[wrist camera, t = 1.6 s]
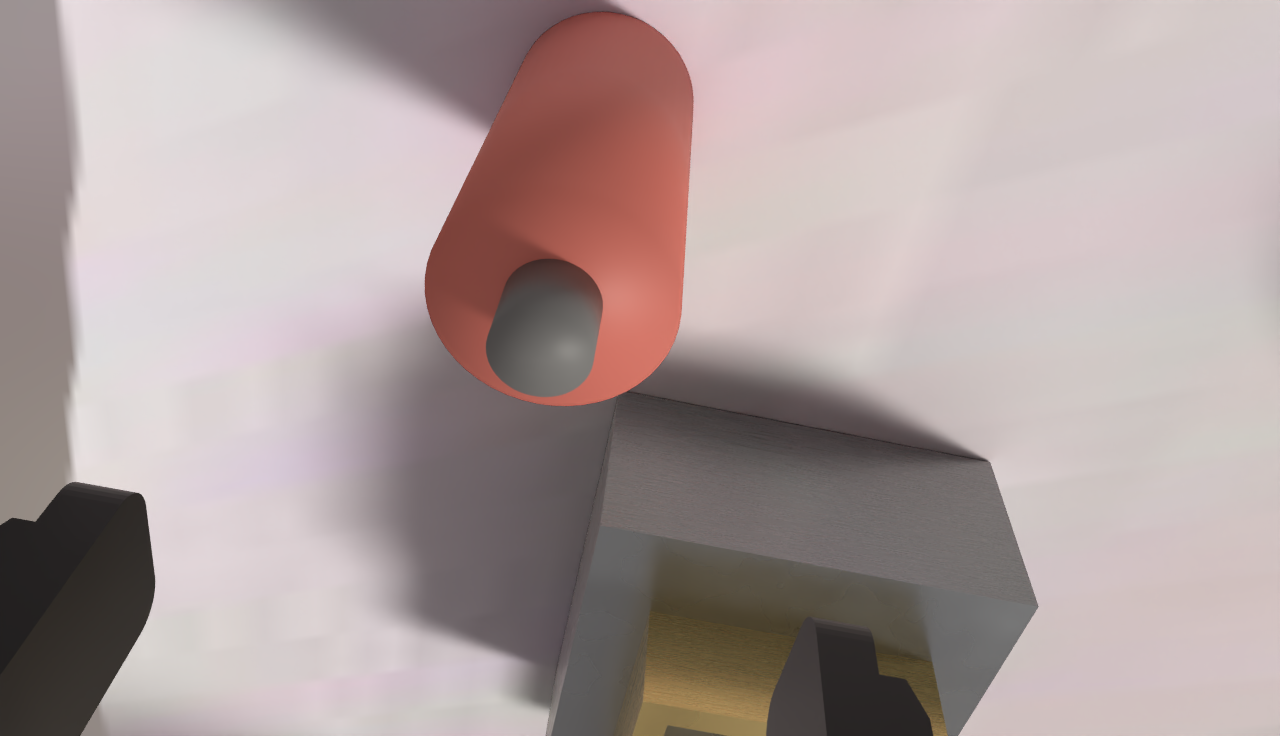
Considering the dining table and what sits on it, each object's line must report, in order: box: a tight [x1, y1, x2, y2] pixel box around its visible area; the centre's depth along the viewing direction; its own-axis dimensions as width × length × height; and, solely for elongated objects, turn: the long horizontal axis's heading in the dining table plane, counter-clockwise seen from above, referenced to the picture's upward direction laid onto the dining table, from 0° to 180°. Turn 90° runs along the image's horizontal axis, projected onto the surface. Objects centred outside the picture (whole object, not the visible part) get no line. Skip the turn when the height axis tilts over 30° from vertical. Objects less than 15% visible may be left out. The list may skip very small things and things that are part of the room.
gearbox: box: [546, 392, 1038, 736], centre depth 33 cm, size 17×12×9 cm
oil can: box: [425, 12, 693, 406], centre depth 21 cm, size 5×5×12 cm
